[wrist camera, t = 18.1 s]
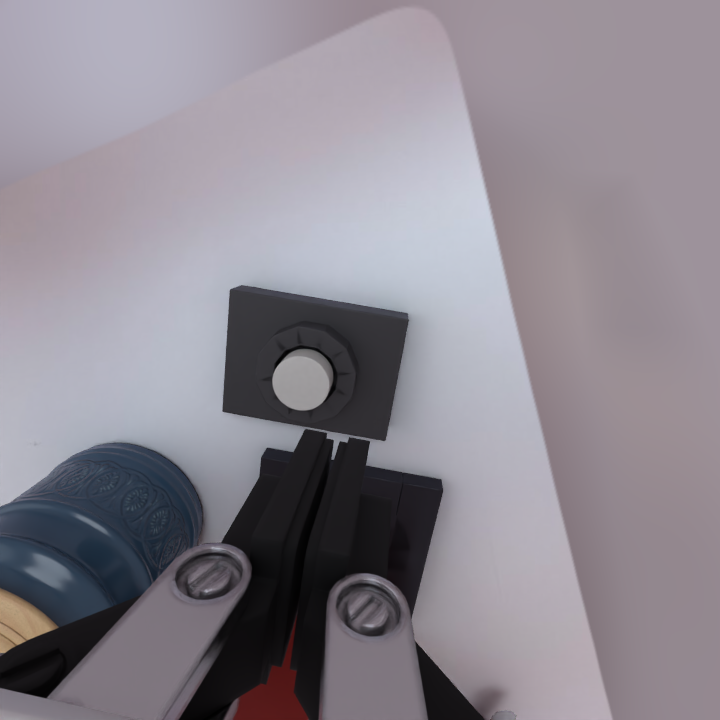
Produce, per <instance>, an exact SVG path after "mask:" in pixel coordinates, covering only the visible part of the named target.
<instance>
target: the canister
mask: <svg viewBox="0 0 720 720" xmlns="http://www.w3.org/2000/svg"><path fill="white" fill-rule="evenodd" d="M201 529H202V509H201V505H200V501H199V498H198V496H197V494H196V492H195V490H194V488H193V486H192V485H191V483H190V482H189V480H188V479H187V478H186V476H185V475H184V474H183V473H182V472H181V471H180V470H179V469H178V468H177V467H176V466H175V465H174V464H172V463H171V462H170V461H168V460H167V459H166V458H164V457H162V456H161V455H159V454H157V453H155V452H153V451H151V450H149V449H146V448H143V447H140V446H136V445H132V444H125V443H108V444H102V445H98V446H95V447H92V448H90V449H88V450H85V451H82V452H79V453H77V454H75V455H73V456H71V457H70V458H68V459H67V460H66V461H64V462H62V463H61V464H59V465H58V466H57V467H56V468H55V469H54V470H53V471H52V472H51V473H50V474H49V475H48V476H47V477H45V478H44V479H43V480H41V481H40V482H38V483H37V484H36V485H34V486H33V487H31V488H30V489H28V490H27V491H26V492H24V493H23V494H21V495H20V496H19V497H17V498H16V499H14V500H13V501H12V502H10V503H8V504H5V505H3V506H1V507H0V653H6V652H7V651H8V650H10V649H11V648H13V647H15V646H17V645H19V644H21V643H23V642H25V641H27V640H29V639H31V638H34V637H36V636H39V635H41V634H44V633H46V632H49V631H51V630H54V629H57V628H59V627H62V626H64V625H67V624H69V623H72V622H74V621H77V620H79V619H82V618H84V617H87V616H89V615H92V614H94V613H97V612H99V611H102V610H104V609H107V608H109V607H112V606H114V605H117V604H120V603H122V602H125V601H127V600H130V599H132V598H135V597H137V596H140V595H142V594H143V593H144V592H145V591H146V590H147V589H148V588H149V587H150V586H151V585H152V584H153V582H154V581H155V580H156V579H157V578H158V577H159V576H160V575H161V574H162V573H163V572H164V571H165V570H166V568H167V567H168V566H169V565H170V564H171V563H172V562H173V561H174V560H175V559H176V558H177V557H179V556H180V555H181V554H182V553H183V552H185V551H187V550H189V549H191V548H193V547H195V546H197V543H198V539H199V536H200V533H201Z"/></svg>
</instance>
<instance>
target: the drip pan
mask: <svg viewBox="0 0 720 720" xmlns="http://www.w3.org/2000/svg"><path fill="white" fill-rule="evenodd" d="M292 455H293V452H288V451H282V450H277V449H271V448H267V449H266V450H265V452H264V454H263V455H262V457H261V467H260V476H261V475H262V474H269V475H274V476H279V477H282V475H283V473H284V471H285V469H286V467H287V465H288V463H289V461H290V459H291V457H292ZM333 462H334V460H331V464H330V471H331V468H332V465H333ZM330 471H329V474H330ZM361 493H366V494H371V495H376V496H381V497H386V498H391V499H392V506H391V521H390V537H389V552H388V568H387V580H388V581H390V582H391V583H392V584H394V585H395V586H396V587H397V588H399V590H400V591H401V592H402V594H403V595H404V597H405V598H406V600H407V603H408V606H409V609H410V615H411V618H412V614H413V610H414V606H415V602H416V598H417V594H418V590H419V586H420V582H421V578H422V574H423V570H424V566H425V562H426V558H427V554H428V550H429V546H430V542H431V538H432V534H433V530H434V526H435V522H436V518H437V514H438V510H439V506H440V502H441V497H442V493H443V486H442V481H441V479H435V478H430V477H424V476H419V475H413V474H408V473H402V472H397V471H391V470H386V469H380V468H375V467H369V466H366V467H365V472H364V478H363V484H362V489H361Z"/></svg>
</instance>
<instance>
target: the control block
mask: <svg viewBox="0 0 720 720" xmlns="http://www.w3.org/2000/svg"><path fill="white" fill-rule="evenodd" d="M408 321H409V319H408V314H407V313H403V312H397V311H391V310H385V309H379V308H373V307H367V306H361V305H356V304H350V303H344V302H338V301H332V300H326V299H320V298H314V297H308V296H302V295H296V294H291V293H285V292H279V291H273V290H267V289H261V288H255V287H249V286H243V285H241V286H238V287H236V288H233V289H230V298H229V314H228V330H227V346H226V362H225V378H224V394H223V410H222V411H223V412H227V413H232V414H238V415H243V416H249V417H254V418H260V419H265V420H271V421H277V422H282V423H288V424H293V425H299V426H304V427H310V428H315V429H321V430H327V431H332V432H338V433H343V434H349V435H354V436H360V437H365V438H371V439H376V440H382V441H385V440H386V436H387V430H388V425H389V420H390V415H391V410H392V404H393V399H394V394H395V389H396V384H397V379H398V373H399V368H400V363H401V358H402V353H403V347H404V342H405V337H406V332H407V327H408ZM298 349H311V350H314V351H317V352H319V353H320V354H322V355H323V356H324V357H325V358H326V359H327V360H328V361H329V363H330V365H331V367H332V370H333V383H332V386H331V388H330V391H329V393H328V395H327V397H326V399H325V400H324V402H323V403H322V404H320V405H319V406H318V407H316V408H314V409H310V410H295V409H292V408H290V407H288V406H286V405H285V404H283V403H282V402H281V401H280V400H279V398H278V397H277V396H276V394H275V392H274V389H273V383H272V379H273V374H274V371H275V369H276V368H277V366H278V365H279V364H280V363H281V361H282V360H283V359H284V358H285V357H286V356H287V355H288V354H289V353H291V352H293V351H295V350H298Z"/></svg>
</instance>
